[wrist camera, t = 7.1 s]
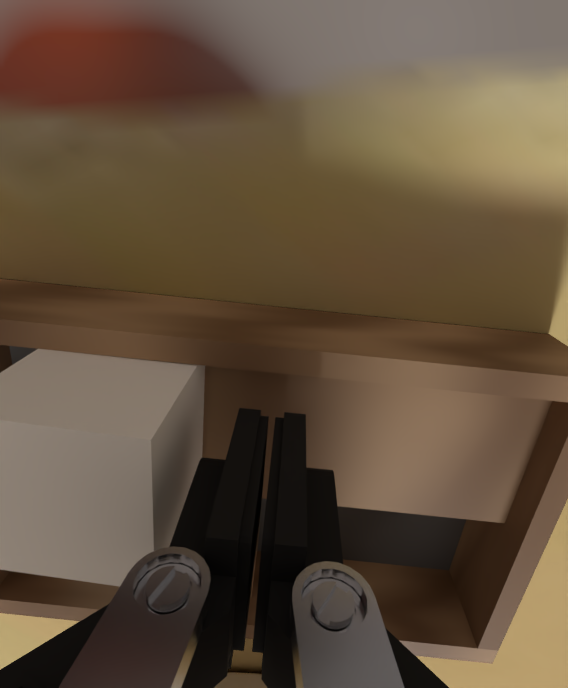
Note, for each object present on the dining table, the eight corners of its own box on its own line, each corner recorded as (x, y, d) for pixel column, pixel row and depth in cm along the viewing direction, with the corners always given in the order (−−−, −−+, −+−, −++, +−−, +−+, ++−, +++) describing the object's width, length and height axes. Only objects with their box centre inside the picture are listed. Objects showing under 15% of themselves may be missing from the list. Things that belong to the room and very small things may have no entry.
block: (205, 352, 11) (150, 439, 8) (201, 470, 13) (154, 592, 9) (60, 334, 11) (-63, 412, 8) (74, 454, 13) (-23, 566, 9)
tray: (549, 334, 13) (620, 381, 10) (460, 579, 17) (492, 663, 14) (-21, 276, 13) (-114, 307, 10) (29, 535, 17) (-27, 610, 14)
